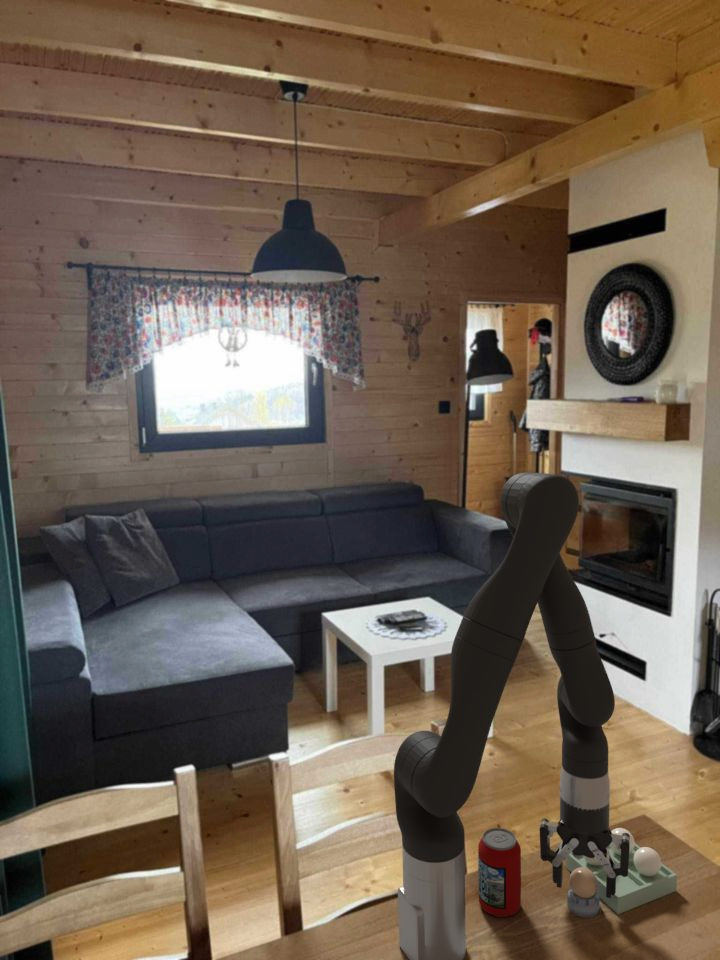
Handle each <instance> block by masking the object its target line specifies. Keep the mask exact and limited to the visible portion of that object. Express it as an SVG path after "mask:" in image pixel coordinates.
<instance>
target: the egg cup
mask: <svg viewBox="0 0 720 960" xmlns="http://www.w3.org/2000/svg"><path fill="white" fill-rule="evenodd" d="M566 897H567V900H566V902H567V903H566V905H567V908H568V910H569V911H570V912H571V913H572V914H573V915H575V916H576V917H580V918H587V919H589V918H593V917H596V916H598V914H599V913H600V904H601V902H600V900H601V899H600V898H599V896H598V895H597V892H596V893H595V894H594V895H593V896H592V897H590V898H581V897H579V896H577V895H576V894H575V893H574V892H573V891H572V889H571V888H570V889H569V890H568V892H567V894H566Z"/></svg>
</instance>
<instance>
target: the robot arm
mask: <svg viewBox="0 0 720 960" xmlns="http://www.w3.org/2000/svg"><path fill="white" fill-rule="evenodd" d="M499 507H500V511H501V514H502V517H503V520H504V521H505V524H506V526H507V528H508V531H509V533H510V535H511V538H512V541H511V544H510V545H509V547H508V550H507V553H506V555H505V557H504V558H503V560H502V562H501V563H500V564H499V566H498V567H497V569H496V570H494V573H492V575H491V576H489V578H488V579H487V580H486V581H485V582H484V584H482V586H480V588H479V589H478V590H477V592H476V593H475V595H474V596H473V597H472V598H471V600H470V601H469V603H468V604H467V605H468V606H466V609H465V611H464V613H463V616H462V618H461V621H460V624H459V626H458V629H457V631H456V634H455V637H454V640H453V643H452V646H451V653H450V702H449V703H450V704H449V709H448V715H447V719H446V721H445V724H444V728H443V730H442V732H441V735H440V734H438V733H436V732H434V731H432V730H431V731H430V730H419V731H415V732H413V733H412V734H410V735H408V736H407V737H406V738H405V739H404V740H403V741H402V743H401V744H400V746H399V747H398V749H397V752H396V755H395V759H394V763H393V764H394V765H393V787H394V801H395V802H394V803H395V804H394V805H395V815H396V820H397V824H398V827H399V831H400V834H401V845H402V851H401V852H402V886H400V887H398V889H397V902H398V903H397V906H398V908H397V909H398V910H397V911H398V915H397V916H398V944H399V947H400V949H401V950H402V951H403V953H404V954H405V956H406V958H407V959H408V960H464V958H465V957H466V953H467V948H466V947H467V945H466V943H467V942H466V941H467V940H466V939H467V935H466V928H467V927H466V843H465V841H466V840H465V839H466V837H465V836H466V835H465V827H464V825H463V822H462V820H461V818H460V816H459V814H458V811H460V809H461V808H462V807H463V806H465V805H464V804H466V803H467V801H468V799H469V797H470V796H471V793H472V792H473V789H474V787H475V783H476V780H477V778H478V774H479V771H480V767H481V764H482V760H483V756H484V752H485V748H486V745H487V742H488V737H489V733H490V731H491V727H492V723H493V721H494V719H495V716H496V713H497V710H498V706H499V705H500V701H501V698H502V696H503V692H504V689H505V688H506V684H507V681H508V680H509V677H510V674H511V673H512V669H513V667H514V665H515V663H516V661H517V658H518V655H519V653H520V650H521V647H522V644H523V643H524V639H525V637H526V633H527V630H528V627H529V625H530V622H531V619H532V617H533V615H534V612H535V609H536V607H537V605H538V609H539V612H540V616H541V619H542V623H543V629H544V633H545V636H546V639H547V640H546V641H547V643H548V647H549V651H550V653H551V656H552V658H553V659H554V661H555V663H556V665H557V667H558V669H559V672H560V678H559V679H558V683H557V689H556V690H557V691H556V698H557V699H556V700H557V709H558V715H559V716H558V717H559V722H560V723H559V724H560V728H561V737H562V744H561V770H560V775H559V777H560V778H559V787H558V788H559V790H558V791H559V821H558V822H557V823H555V822H550V821H549V819H547V818H542V819H541V820H540V822H541V823H540V825H539V848H540V849H539V850H540V853H539V854H540V859H541V860H542V861H543V862H549V863H550V864H551V866H552V883H553V884H556V888H560V889H562V886H563V878H564V877H563V870H564V869H563V865H564V864H563V863H564V862H563V861H564V860H566V858H567V857H568V856H569V854H570V853H571V852H572V853H573V855H578V856H581V855H584V856H586V857H588V858H593V859H594V857H596V859H597V860H598V862H599V864H600V865H601V867H603V868H604V870H605V871H606V873H607V876H606V897H607V898H611V895H615V893H616V877H617V876H620V875H621V876H623V877H626V876H627V875H628V864H629V848H630V835H629V834H628V833H623V834H622V836H621V835H617V834H612V832H611V831H612V830H611V829H610V802H611V801H610V799H611V797H610V796H611V794H610V791H611V789H610V788H611V787H610V786H611V785H610V775H609V743H608V739H607V736H606V733H605V732H604V729H603V726H604V725H605V724H606V723H608V722H609V720H611V718H612V716H613V714H614V710H615V707H616V706H615V705H616V700H615V693H614V690H613V686H612V684H611V681H610V678H609V675H608V673H607V670H606V667H605V665H604V662H603V660H602V658H601V656H600V652H599V650H598V647H597V642H596V636H595V632H594V627H593V623H592V620H591V617H590V616H591V615H590V612H589V609H588V607H587V604H586V601H585V599H584V597H583V595H582V593H581V591H580V589H579V587H578V586H577V584H576V582H575V580H574V579H573V577H572V575H571V574H570V571H569V570H568V567H567V565H566V563H565V562H564V559H563V557H562V555H561V551H562V549H563V547H564V545H565V544H566V542H567V540H568V538H569V535H570V533H571V531H572V529H573V527H574V525H575V523H576V520H577V516H578V515H579V513H578V512H579V507H580V497H579V493H578V490H577V488H576V486H575V484H574V483H573V482H572V481H571V480H570V479H569V478H567V477H565V476H564V475H559V474H555V473H554V474H553V473H544V472H543V473H542V472H532V471H531V472H528V471H527V472H520V473H517V474H515V475H512V476H511V477H509V479H508V480H507V481H506V482H505V484H504V485H503V487H502V489H501V492H500V496H499ZM554 833H556V834H557V835H558V836H559V837H560V840H561V842H560V844H559V845H558V847H557V848H556V849H555V850H553V849H551V844H550V843H551V842H550V841H551V838H553V836H554ZM611 842H613V843H614V844H615V845H616V849H617V850H618V851H621V859H620V863H615V862H614V860H613V859H612V857H611V855H610V852H609V850H608V848H607V847H608V846H609V845H610V844H611Z"/></svg>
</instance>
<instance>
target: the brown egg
mask: <svg viewBox="0 0 720 960" xmlns="http://www.w3.org/2000/svg"><path fill="white" fill-rule="evenodd" d="M568 880H569V882H568V883H569V886H570V889H572V891H573V892H574V893H575V894H576V895H577V896H579V897H581V898H590V897H592V896H593V895H594V894H595V893H596V891H597V889H598V881H597V878H596V876H595V874H594V873H593V872H592V871H591V870H589V869H587V868H584V867H579V868H576V869H575V870H573V872H572V873H571V872H570V876H569V879H568Z"/></svg>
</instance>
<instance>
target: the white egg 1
mask: <svg viewBox="0 0 720 960" xmlns="http://www.w3.org/2000/svg"><path fill="white" fill-rule="evenodd" d="M582 856H583V858H584V860H585V861H586V862H587V863H589V864H591V865H594V866H599V865H600V864H599V862H598V860H597V859H596V857H594V859H593V858H588V857H586V856H584V855H582Z"/></svg>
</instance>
